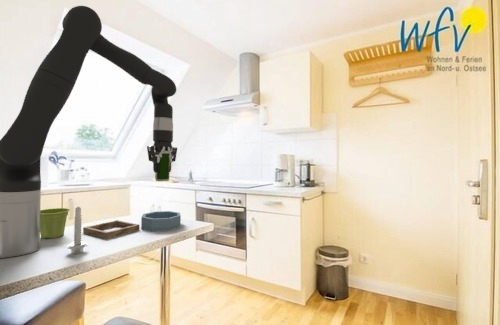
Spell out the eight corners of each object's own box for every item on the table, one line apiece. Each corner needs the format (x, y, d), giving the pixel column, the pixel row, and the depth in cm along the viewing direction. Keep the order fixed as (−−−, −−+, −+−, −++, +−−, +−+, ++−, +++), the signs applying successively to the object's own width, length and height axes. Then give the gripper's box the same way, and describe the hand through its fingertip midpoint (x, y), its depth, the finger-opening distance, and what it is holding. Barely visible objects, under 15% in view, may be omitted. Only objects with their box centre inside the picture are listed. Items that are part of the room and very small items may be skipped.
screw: (90, 249, 75) (80, 255, 70) (73, 249, 75) (62, 255, 70) (91, 205, 75) (81, 208, 70) (74, 204, 75) (63, 208, 70)
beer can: (158, 181, 99) (159, 150, 99) (152, 180, 103) (153, 150, 103) (171, 181, 103) (172, 151, 102) (165, 180, 107) (166, 151, 106)
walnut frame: (106, 239, 85) (106, 233, 85) (83, 232, 91) (83, 227, 91) (139, 230, 96) (139, 224, 96) (117, 225, 102) (117, 220, 102)
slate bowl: (160, 233, 93) (160, 220, 93) (133, 227, 100) (134, 215, 100) (187, 224, 106) (187, 213, 106) (162, 220, 113) (162, 210, 113)
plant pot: (41, 242, 80) (41, 214, 80) (29, 237, 85) (29, 211, 85) (74, 235, 88) (75, 210, 88) (61, 230, 93) (62, 207, 93)
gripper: (155, 127, 94) (155, 173, 95) (182, 131, 107) (182, 172, 107) (141, 128, 98) (141, 172, 98) (169, 132, 111) (168, 171, 111)
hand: (162, 172), depth 103 cm, fingers closed on beer can, 5 cm apart
